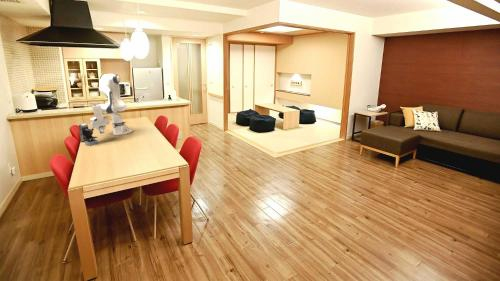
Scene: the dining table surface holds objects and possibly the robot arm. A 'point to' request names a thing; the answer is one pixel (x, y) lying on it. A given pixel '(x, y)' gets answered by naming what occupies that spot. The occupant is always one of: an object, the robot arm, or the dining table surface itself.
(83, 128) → the vintage camera
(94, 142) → the lens mount
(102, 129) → the lens
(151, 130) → the dining table surface
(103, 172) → the dining table surface
